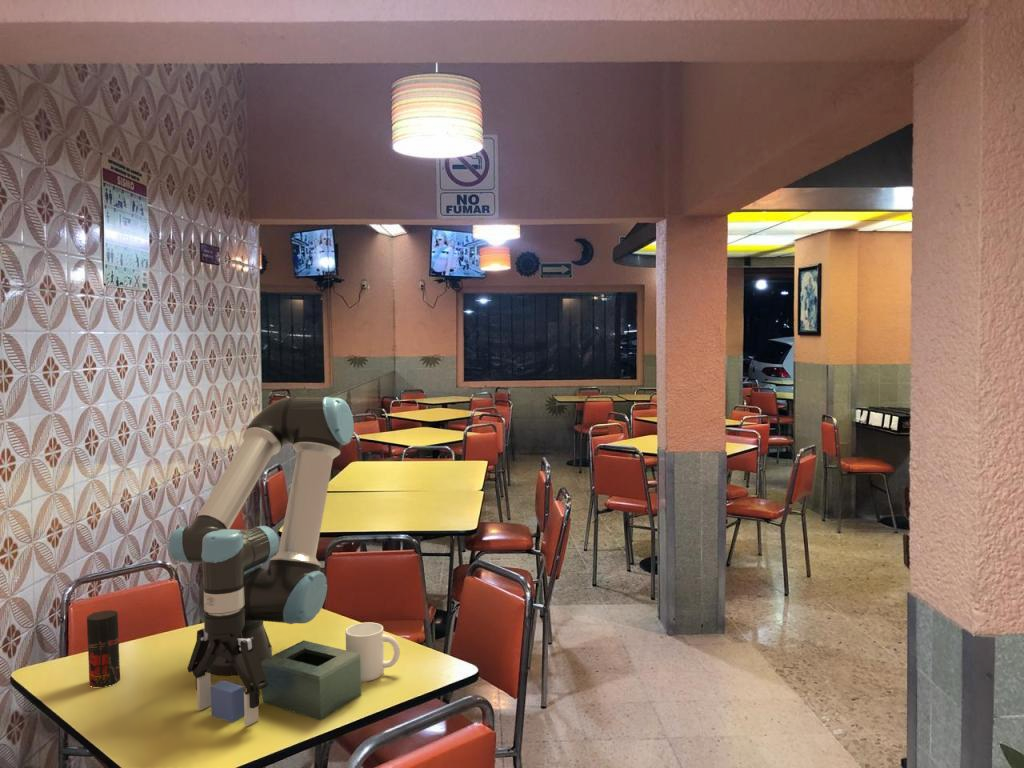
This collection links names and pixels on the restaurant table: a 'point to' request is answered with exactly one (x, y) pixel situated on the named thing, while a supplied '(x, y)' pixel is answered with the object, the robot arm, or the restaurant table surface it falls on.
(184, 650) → the restaurant table surface
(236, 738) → the restaurant table surface
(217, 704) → the blue block
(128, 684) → the restaurant table surface
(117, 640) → the deodorant
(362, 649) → the mug
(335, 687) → the coin box
